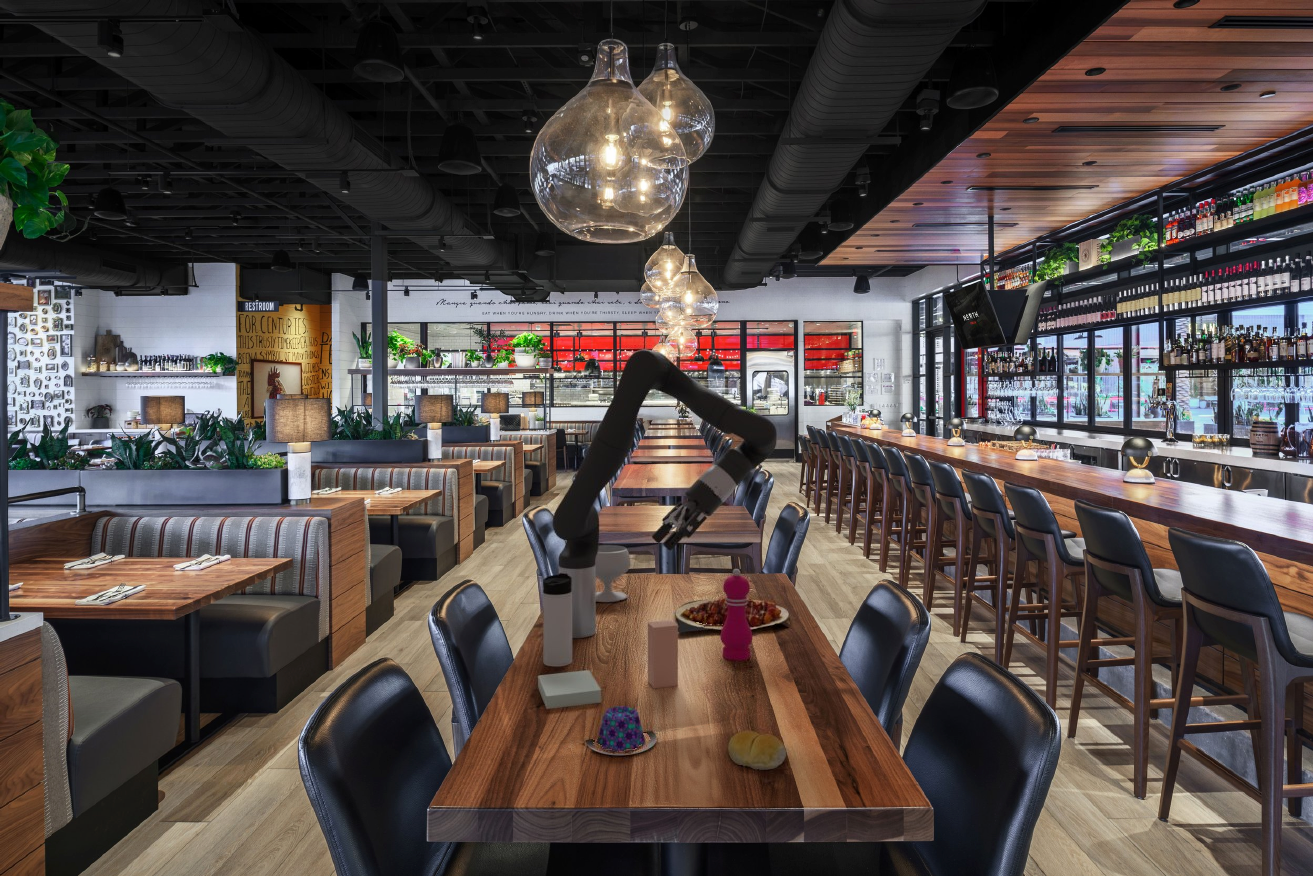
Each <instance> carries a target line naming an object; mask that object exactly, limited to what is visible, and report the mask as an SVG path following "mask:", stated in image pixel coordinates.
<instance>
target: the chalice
mask: <svg viewBox="0 0 1313 876" xmlns="http://www.w3.org/2000/svg"><path fill="white" fill-rule="evenodd" d="M631 562H632V561H631V557H630V553H629V551H628V549H627V547H625V546H622V545H616V544H614V545H613V544H607V545H606V544H603V545H602V544H601V545H599V547H598V553H597V556H596V560H595V577H596V578H597V579H598V580H600V581H601V582H602V584H603V586H604V587H603V590H602V591H597V592H596V602H598V603H614V602H616V603H617V602H620V600H621V601H624V600H626V599H628V597H627V596H628V595H627V594H626V593H624V592H619V591H613V590H612V589H611V587H612V583H613V582H614V581H615V580H616V579H618V578H619V577H620V576H623V575H624V574H626V573H627V572H628V570H629V569H630V568H631V565H632V564H631Z"/></svg>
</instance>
